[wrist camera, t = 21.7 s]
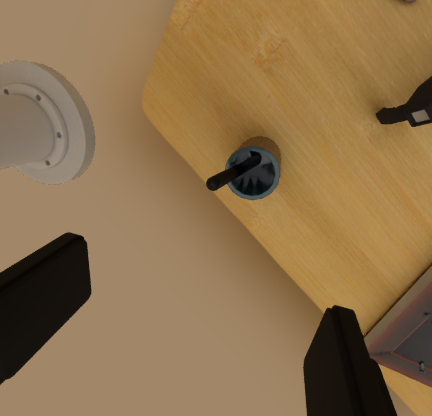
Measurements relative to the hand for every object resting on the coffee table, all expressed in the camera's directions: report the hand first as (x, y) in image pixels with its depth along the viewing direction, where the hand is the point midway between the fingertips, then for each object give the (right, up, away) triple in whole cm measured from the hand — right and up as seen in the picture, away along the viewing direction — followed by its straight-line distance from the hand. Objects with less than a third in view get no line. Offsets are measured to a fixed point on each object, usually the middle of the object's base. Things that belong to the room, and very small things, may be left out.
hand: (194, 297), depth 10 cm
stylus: (+6, +10, +23) cm, 25 cm away
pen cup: (+6, +10, +23) cm, 26 cm away
